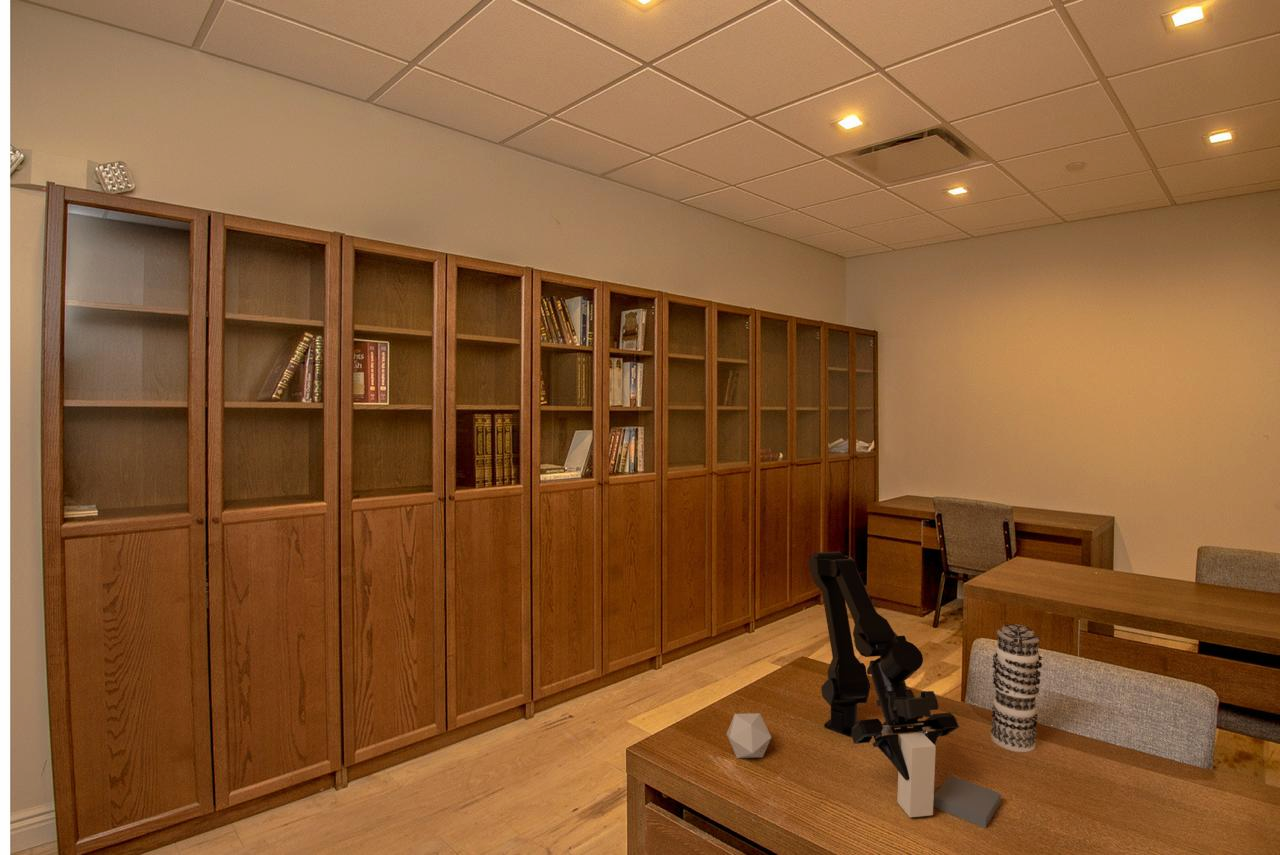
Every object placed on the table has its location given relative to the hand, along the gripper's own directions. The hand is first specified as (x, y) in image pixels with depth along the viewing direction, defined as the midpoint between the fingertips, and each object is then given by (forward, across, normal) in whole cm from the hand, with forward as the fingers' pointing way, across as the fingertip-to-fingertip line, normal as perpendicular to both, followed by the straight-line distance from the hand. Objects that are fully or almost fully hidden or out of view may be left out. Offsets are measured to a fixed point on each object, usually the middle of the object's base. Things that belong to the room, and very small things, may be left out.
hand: (920, 778), depth 126 cm
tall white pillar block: (+4, 0, +6) cm, 7 cm away
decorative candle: (-9, +33, +20) cm, 39 cm away
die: (-12, -24, +23) cm, 35 cm away
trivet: (+4, +10, +6) cm, 13 cm away
